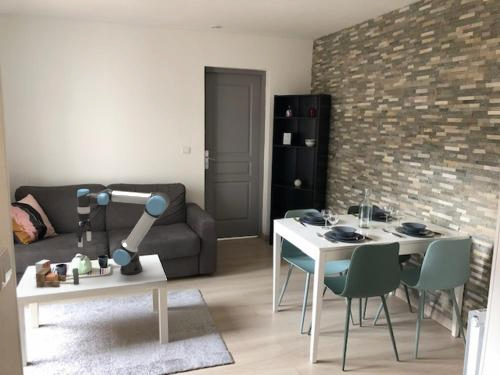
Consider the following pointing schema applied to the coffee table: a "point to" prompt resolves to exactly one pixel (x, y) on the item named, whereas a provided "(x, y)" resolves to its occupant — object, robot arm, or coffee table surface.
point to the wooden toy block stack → (42, 283)
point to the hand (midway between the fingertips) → (84, 243)
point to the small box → (42, 265)
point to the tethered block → (55, 278)
